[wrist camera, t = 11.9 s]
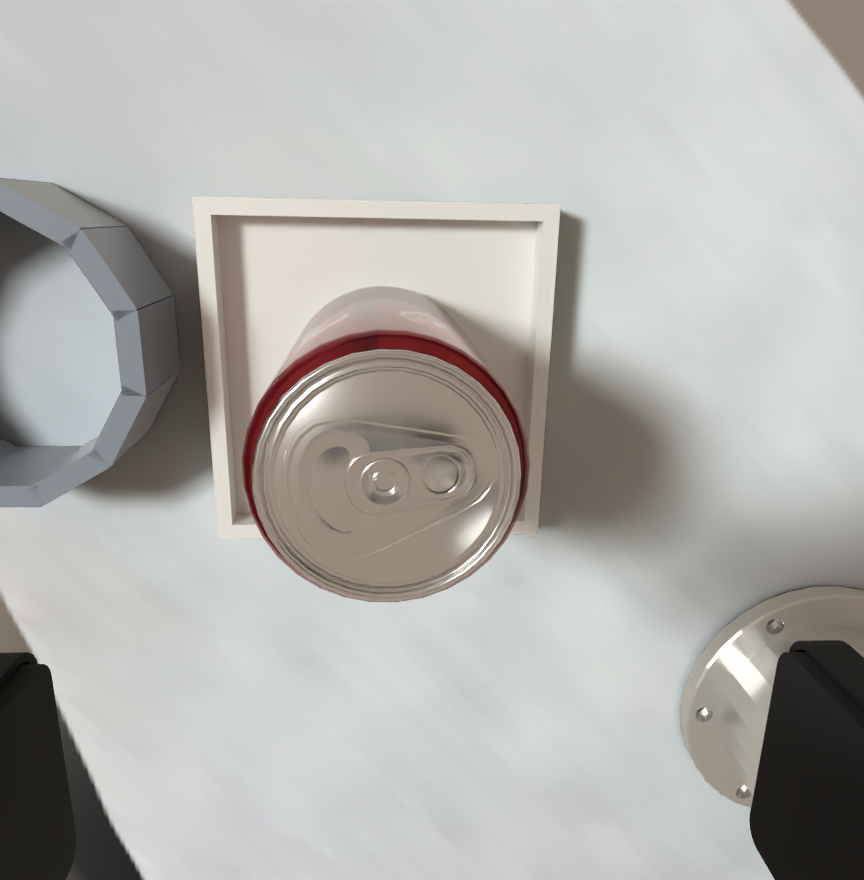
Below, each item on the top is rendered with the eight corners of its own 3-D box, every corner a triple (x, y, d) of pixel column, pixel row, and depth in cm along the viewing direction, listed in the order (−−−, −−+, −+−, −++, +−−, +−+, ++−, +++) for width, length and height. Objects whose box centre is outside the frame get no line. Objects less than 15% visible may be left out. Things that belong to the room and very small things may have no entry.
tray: (549, 205, 28) (560, 204, 26) (529, 516, 32) (537, 533, 30) (203, 197, 27) (191, 196, 25) (226, 520, 31) (218, 538, 29)
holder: (164, 185, 27) (124, 180, 22) (188, 463, 30) (157, 505, 26) (-149, 178, 26) (-252, 171, 22) (-89, 465, 29) (-168, 509, 25)
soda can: (301, 466, 30) (256, 625, 18) (282, 289, 28) (216, 344, 16) (475, 454, 30) (536, 602, 19) (469, 278, 28) (534, 325, 17)
